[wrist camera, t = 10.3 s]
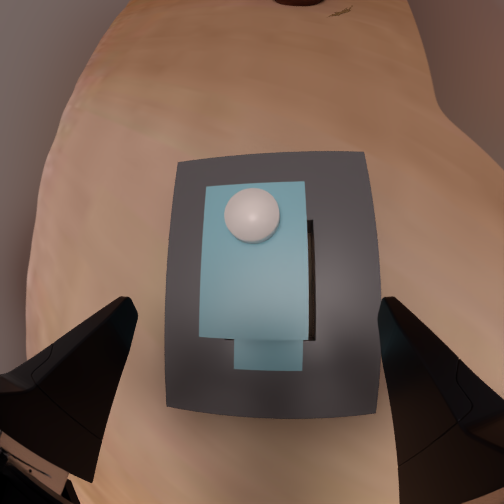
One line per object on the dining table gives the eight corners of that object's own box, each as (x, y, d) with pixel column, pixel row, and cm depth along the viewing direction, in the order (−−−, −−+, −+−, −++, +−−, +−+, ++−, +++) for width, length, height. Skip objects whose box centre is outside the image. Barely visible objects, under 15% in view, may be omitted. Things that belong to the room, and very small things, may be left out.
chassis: (365, 400, 17) (375, 413, 14) (183, 395, 19) (166, 406, 16) (356, 171, 21) (363, 151, 18) (191, 179, 23) (177, 162, 20)
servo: (300, 359, 18) (306, 410, 8) (245, 358, 19) (194, 403, 9) (299, 211, 21) (300, 123, 10) (248, 213, 21) (207, 130, 11)
